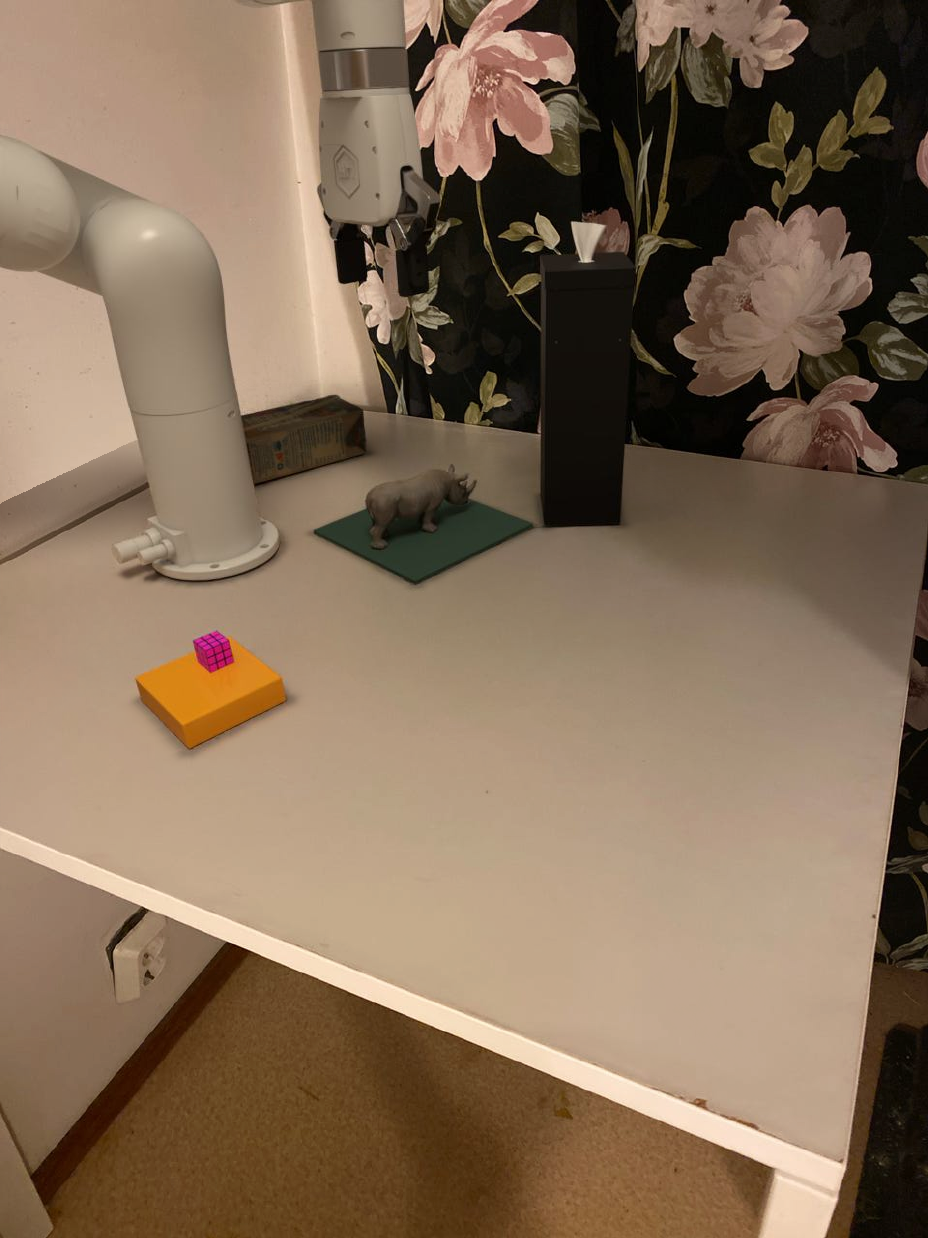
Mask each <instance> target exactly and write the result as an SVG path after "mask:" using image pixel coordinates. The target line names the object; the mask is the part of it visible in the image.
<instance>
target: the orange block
mask: <svg viewBox="0 0 928 1238" xmlns="http://www.w3.org/2000/svg"><path fill="white" fill-rule="evenodd" d="M192 644H193V648H194V651H192V652H190V653H188V654H187V653H186V654H185V655H183V656H181V657H179V658H176V659H174V660H170V661H169V662H167V663H164V664H162V665H160V666H157V667H155V668H152V669H151V670H148V671H146V672H143V673H141V674H139V675H137V676H135V677H134V679H135V683H136V687H137V690H138V693H139V697H140V700H141V701H142V702H143V703H144V705H146V707H147V708H148V709H149V710H151V712H152V713H153V714H154V715H155V716H156V717H157V718H158V719H159V720H160V721H161V722H162V723H163V725H165V726H166V727H167V728H168V729H169V730H170V731H171V732H172V733H173V734H174V735H175V736H176V737H177V738H178V739H179V740H180V742H182V743H183V745H184V746H185V747H186V748H187V749H192V748H195V747H196V746H198V745H200V744H202V743H204V742H206V741H208V740H210V739H212V738H214V737H216V736H218V735H220V734H222V733H224V732H226V731H229V730H230V729H232V728H234V727H236V726H238V725H241V724H242V723H244V722H246V721H248V720H250V719H252V718H254V717H256V716H258V715H260V714H262V713H264V712H267V711H268V710H270V709H272V708H275V707H276V706H278V705H280V704H282V703H284V702H286V701H287V696H286V691H285V686H284V682H283V676H281V675H280V674H278V673H277V672H276V671H275V670H273V669H272V667H270V666H269V665H267V664H266V663H264V661H262V660H261V659H260V658H258V657H257V656H256V655H254V654H253V653H252V652H251V651H250V650H248V649H247V648H245V646H243V645H241V644H240V643H239V642H238V641H237V640H236V639H235V638H233V637H231V636H230V635H229V636H227V637H225V636H224V635H223V634H222V633H221V632H220V631H218V630H214V631H211V632H209V633H207V634H205V635H202V636H201V637H198V638H195V639H193V640H192Z"/></svg>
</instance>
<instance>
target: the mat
mask: <svg viewBox="0 0 928 1238" xmlns="http://www.w3.org/2000/svg"><path fill="white" fill-rule="evenodd" d="M417 519H418V517H416V518H414V519H410V520H404V519H399V518H395V520H394V521H393V522H392V523H391V524H390V525H389V526H388V527H387V529H388V531H389V535H387V536H384V537H382V539H383V540H385V541H386V542H387V544H388V545H387V546H386V547H384V548H383V549H376V548H373V547H371V543H372V541H373V538H372V536H371V535H370V531H371V529H372V528H373V527H372V519H371V517H370V515H369V513H368V511H367V508H366V507H365V508H364V509H362V510H359V511H357V512H354V513H352V514H349V515H347V516H344V517H342V518H339V519H337V520H335V521H332V522H330V523H327V524H324V525H321V526H320V527H317V528H315V529H313V534H314V535H317V536H318V537H321V538H323V539H324V540H327V541H328V542H330V543H331V544H334V545H336V546H338V547H340V548H341V549H342V548H343V549H344V550H347V551H348V552H350V553H352V554H354V555H356V556H358V557H360V558H362V559H364V560H366V561H368V562H370V563H372V564H374V565H375V566H377V567H380V568H381V569H384V570H386V571H388V572H389V573H392V574H394V575H396V576H398V577H400V578H402V579H403V580H406V581H408V582H409V583H412V584H414V585H417V584H419V583H421V582H424V581H425V580H427V579H429V578H432V577H434V576H435V575H437V574H440V573H443V572H444V571H446V570H447V569H450V568H453V567H454V566H456V565H458V564H460V563H462V562H464V561H466V560H469V559H470V558H472V557H474V556H476V555H478V554H480V553H482V552H484V551H486V550H488V549H490V548H493V547H494V546H497V545H499V544H500V543H503V542H505V541H507V540H509V539H511V538H513V537H515V536H517V535H519V534H521V533H523V532H525V531H527V530H529V529H531V528H534V523H533V522H530V521H528V520H525V519H522V518H520V517H518V516H515V515H512V514H510V513H507V512H504V511H502V510H500V509H497V508H494V507H491V506H489V505H487V504H484V503H482V502H479V501H476V500H473V499H471V498H469V497H468V503H466V505H462V506H461V505H455V504H451V503H448V502H447V501H446V500H445V499H443V502H442V503H441V506H440V507H438V510H437V513H436V514H435V515H434V516H433V518H432V520H431V522H432V523H433V524H434V525H435V526H437V530H435V531H434V532H427V531H425V530H423V529H422V525H423V524H420V523H418V522H417Z"/></svg>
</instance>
